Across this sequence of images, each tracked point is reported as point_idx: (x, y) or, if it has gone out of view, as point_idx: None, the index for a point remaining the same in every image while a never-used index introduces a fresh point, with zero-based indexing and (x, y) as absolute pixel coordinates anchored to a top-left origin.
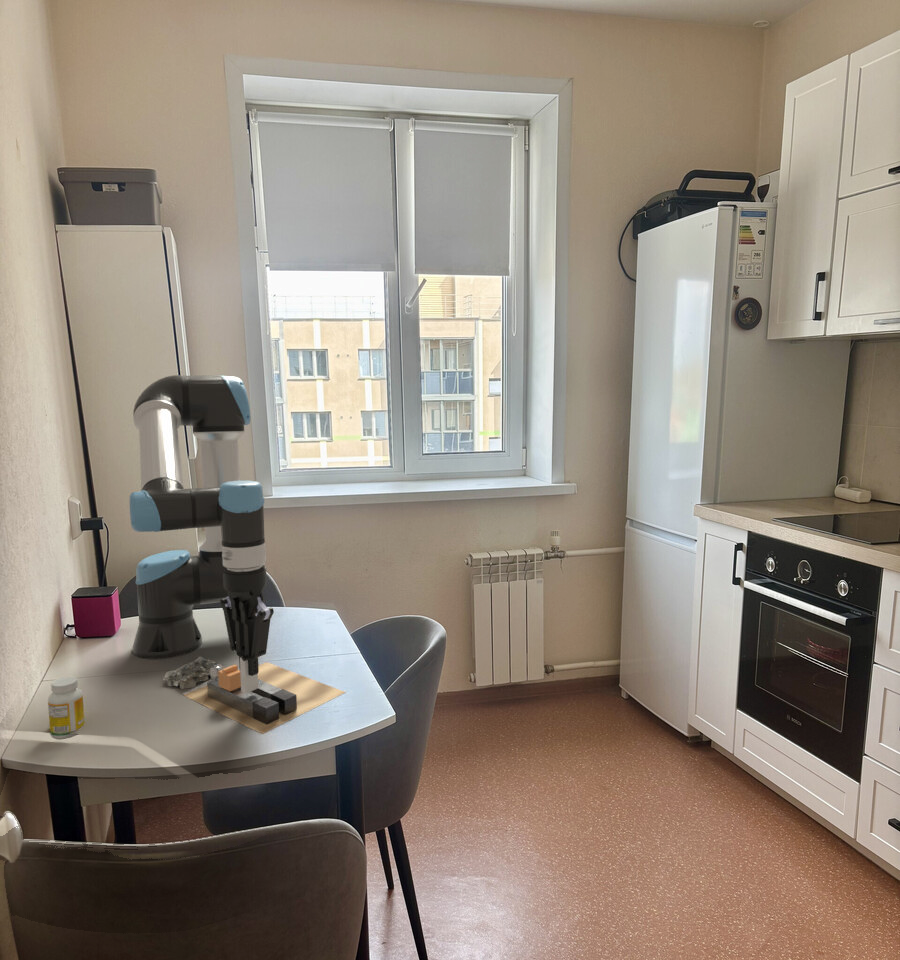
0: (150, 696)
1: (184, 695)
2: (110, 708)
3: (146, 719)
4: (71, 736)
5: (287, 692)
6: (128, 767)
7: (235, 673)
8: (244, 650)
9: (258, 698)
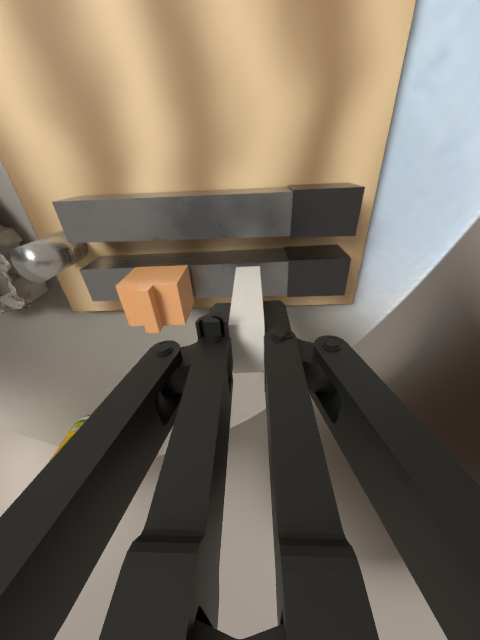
0: (25, 330)
1: (76, 310)
2: (46, 380)
3: (120, 367)
4: None
5: (326, 196)
6: (240, 422)
7: (178, 304)
8: (229, 371)
9: (280, 274)
